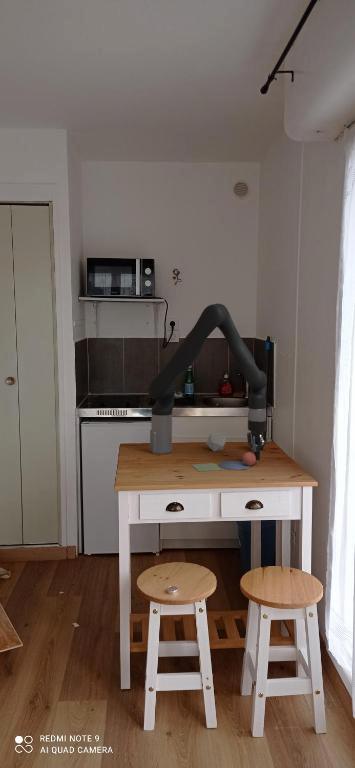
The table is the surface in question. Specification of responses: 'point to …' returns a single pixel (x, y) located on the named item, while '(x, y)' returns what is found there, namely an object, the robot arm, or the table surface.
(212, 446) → the die
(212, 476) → the table surface
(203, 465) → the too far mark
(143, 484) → the table surface
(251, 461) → the ball
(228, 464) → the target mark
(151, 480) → the table surface
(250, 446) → the cup
